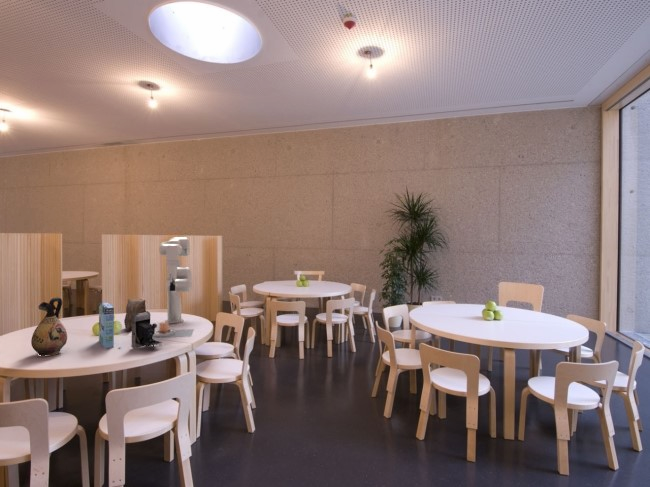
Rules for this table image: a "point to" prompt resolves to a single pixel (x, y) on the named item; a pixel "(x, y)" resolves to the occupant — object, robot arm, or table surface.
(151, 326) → the vintage camera
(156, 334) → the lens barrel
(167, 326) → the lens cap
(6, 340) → the table surface
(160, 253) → the robot arm
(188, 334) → the board
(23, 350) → the table surface
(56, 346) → the ceramic jug
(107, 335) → the gum box
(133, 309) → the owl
